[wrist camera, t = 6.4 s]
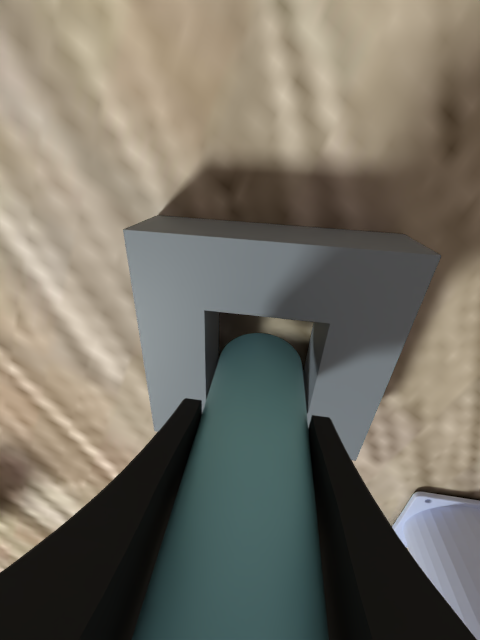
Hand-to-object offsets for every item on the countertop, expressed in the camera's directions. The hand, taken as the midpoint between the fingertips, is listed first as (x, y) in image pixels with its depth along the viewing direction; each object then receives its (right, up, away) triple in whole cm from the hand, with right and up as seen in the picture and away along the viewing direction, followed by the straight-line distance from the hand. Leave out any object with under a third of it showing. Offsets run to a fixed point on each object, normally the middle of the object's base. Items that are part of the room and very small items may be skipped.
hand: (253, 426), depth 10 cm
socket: (+1, +3, +6) cm, 7 cm away
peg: (0, +2, +3) cm, 3 cm away
